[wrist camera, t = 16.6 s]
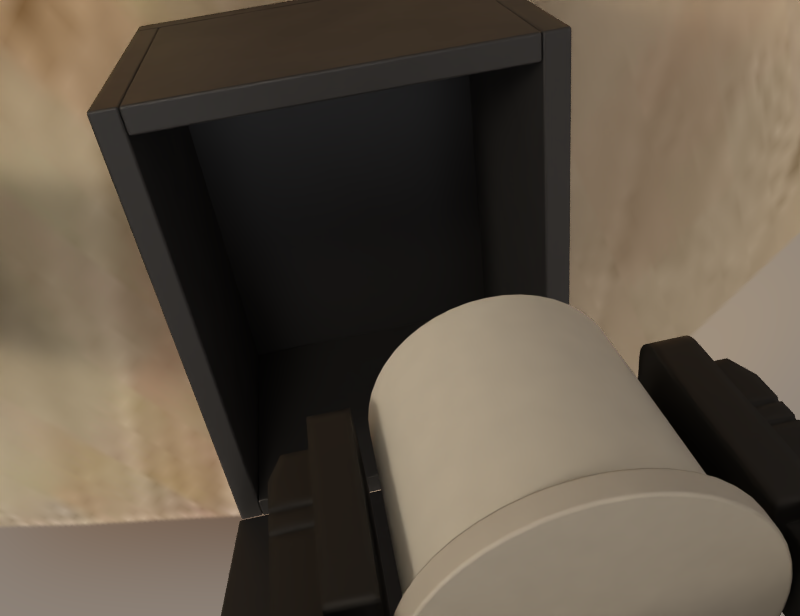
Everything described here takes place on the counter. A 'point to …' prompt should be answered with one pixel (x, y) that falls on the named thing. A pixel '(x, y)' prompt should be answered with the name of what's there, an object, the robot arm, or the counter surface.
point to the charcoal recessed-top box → (334, 195)
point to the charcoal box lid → (250, 565)
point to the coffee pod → (553, 479)
